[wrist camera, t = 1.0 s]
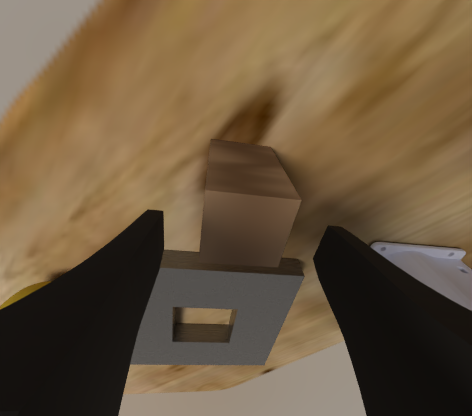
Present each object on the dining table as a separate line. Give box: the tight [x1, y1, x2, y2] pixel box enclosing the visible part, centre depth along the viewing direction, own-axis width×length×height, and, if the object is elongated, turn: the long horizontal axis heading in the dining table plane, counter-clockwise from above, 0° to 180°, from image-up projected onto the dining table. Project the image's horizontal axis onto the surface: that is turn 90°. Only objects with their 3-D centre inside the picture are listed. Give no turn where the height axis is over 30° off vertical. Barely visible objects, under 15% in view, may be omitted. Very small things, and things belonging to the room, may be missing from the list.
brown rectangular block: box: [199, 139, 302, 267], centre depth 13 cm, size 4×4×7 cm
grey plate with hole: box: [130, 250, 305, 365], centre depth 24 cm, size 16×16×2 cm
